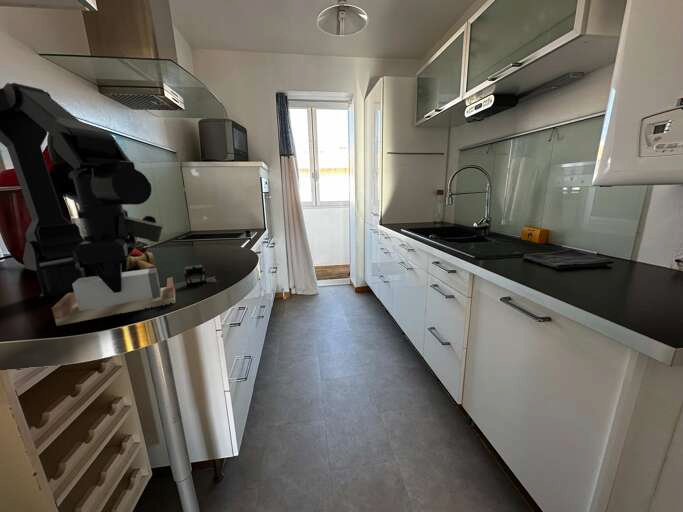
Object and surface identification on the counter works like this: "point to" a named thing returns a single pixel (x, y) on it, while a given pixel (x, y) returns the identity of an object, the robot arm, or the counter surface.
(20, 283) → the counter surface
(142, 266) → the kendama
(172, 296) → the cradle
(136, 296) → the grey-ended white block
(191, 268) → the dark piece
